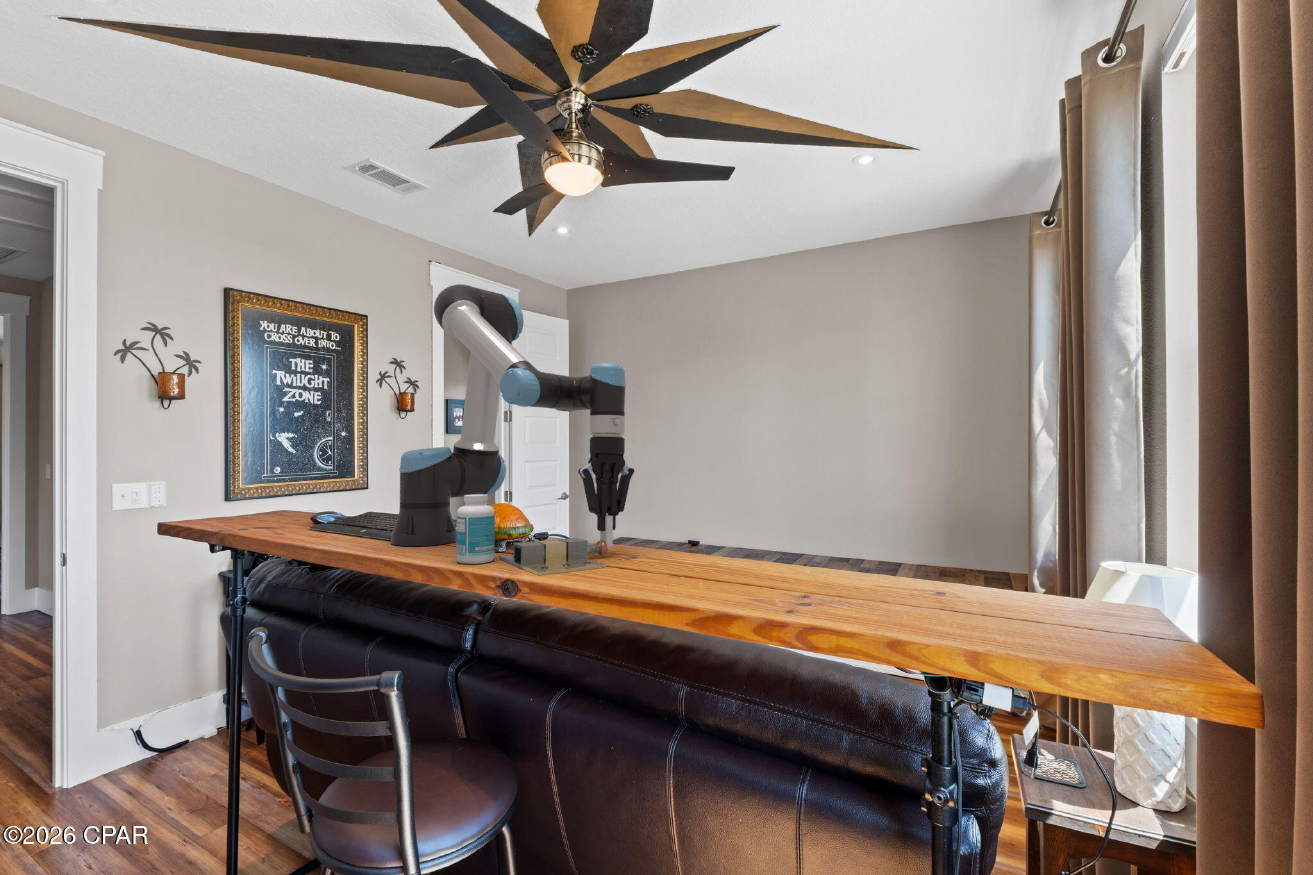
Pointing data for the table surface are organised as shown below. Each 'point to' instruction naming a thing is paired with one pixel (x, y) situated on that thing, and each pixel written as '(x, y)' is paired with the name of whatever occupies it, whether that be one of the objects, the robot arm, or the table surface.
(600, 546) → the hinge pin
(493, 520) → the pill bottle
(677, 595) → the table surface
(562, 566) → the three blocks on plate
